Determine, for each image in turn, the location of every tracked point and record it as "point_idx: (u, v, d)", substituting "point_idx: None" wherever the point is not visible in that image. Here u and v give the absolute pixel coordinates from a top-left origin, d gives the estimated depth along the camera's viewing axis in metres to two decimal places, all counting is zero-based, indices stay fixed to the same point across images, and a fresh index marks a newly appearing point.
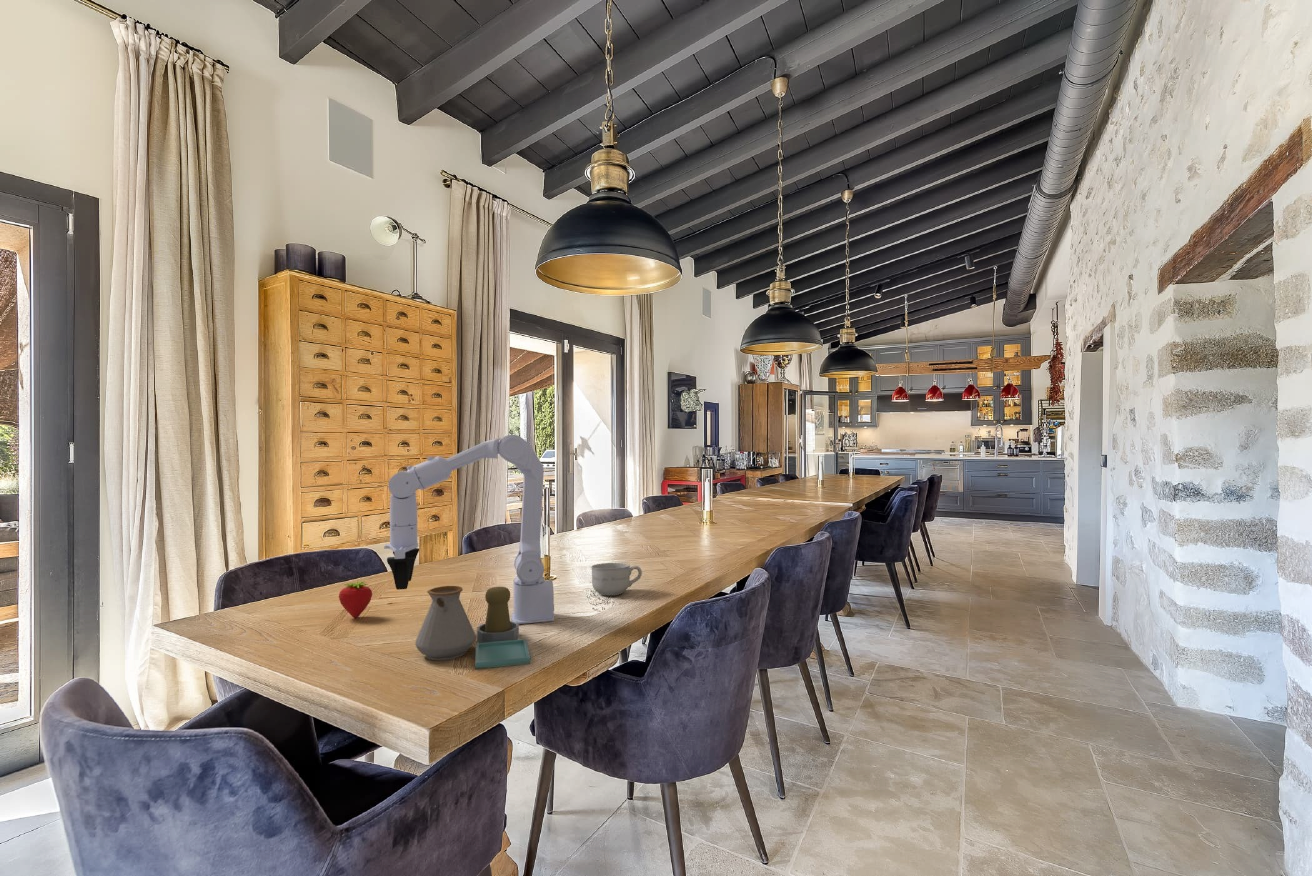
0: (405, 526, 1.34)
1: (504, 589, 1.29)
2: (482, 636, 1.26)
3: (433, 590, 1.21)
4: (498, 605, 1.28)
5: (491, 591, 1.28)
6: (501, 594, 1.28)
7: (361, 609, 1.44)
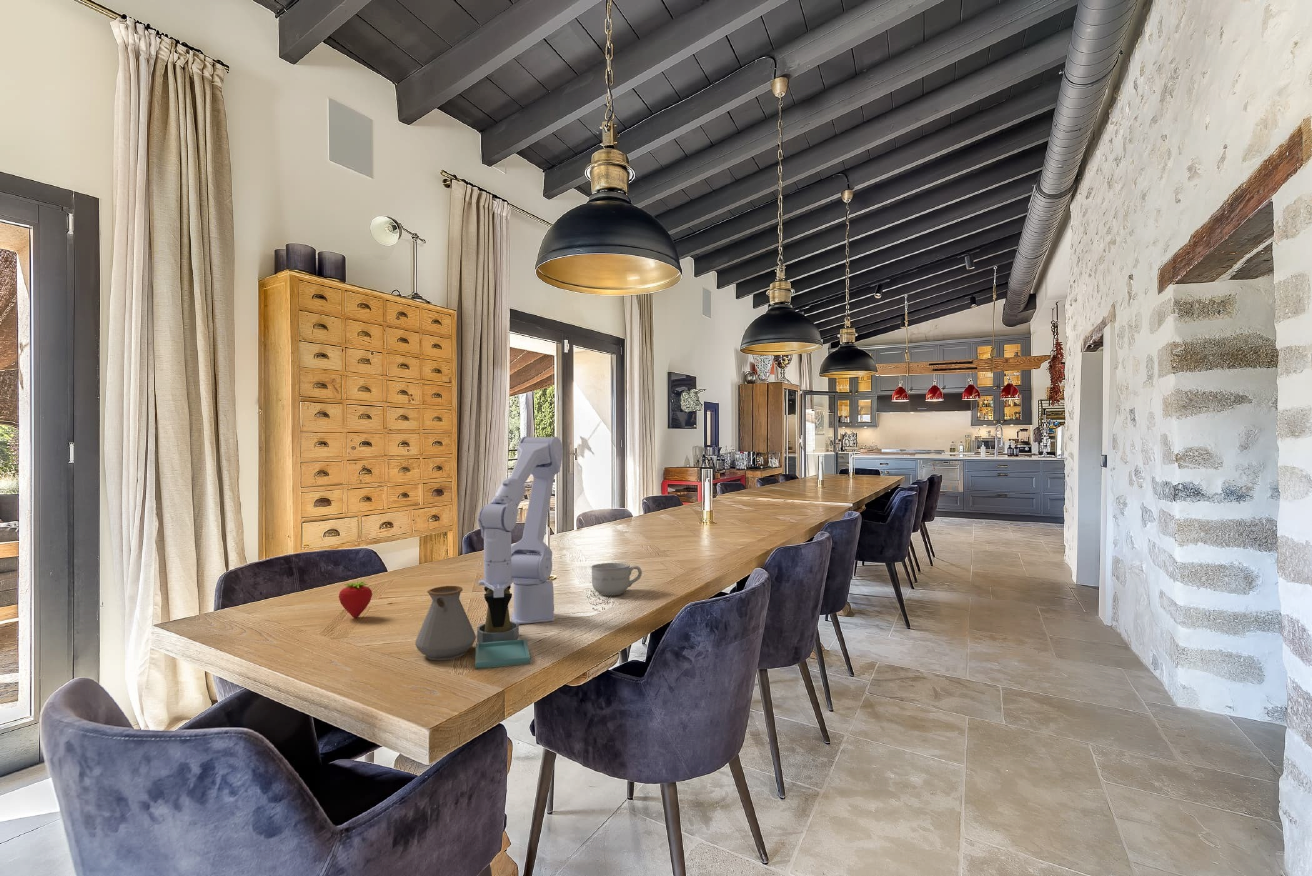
0: (501, 562, 1.27)
1: (504, 589, 1.29)
2: (482, 636, 1.26)
3: (433, 590, 1.21)
4: None
5: (491, 591, 1.28)
6: None
7: (361, 609, 1.44)
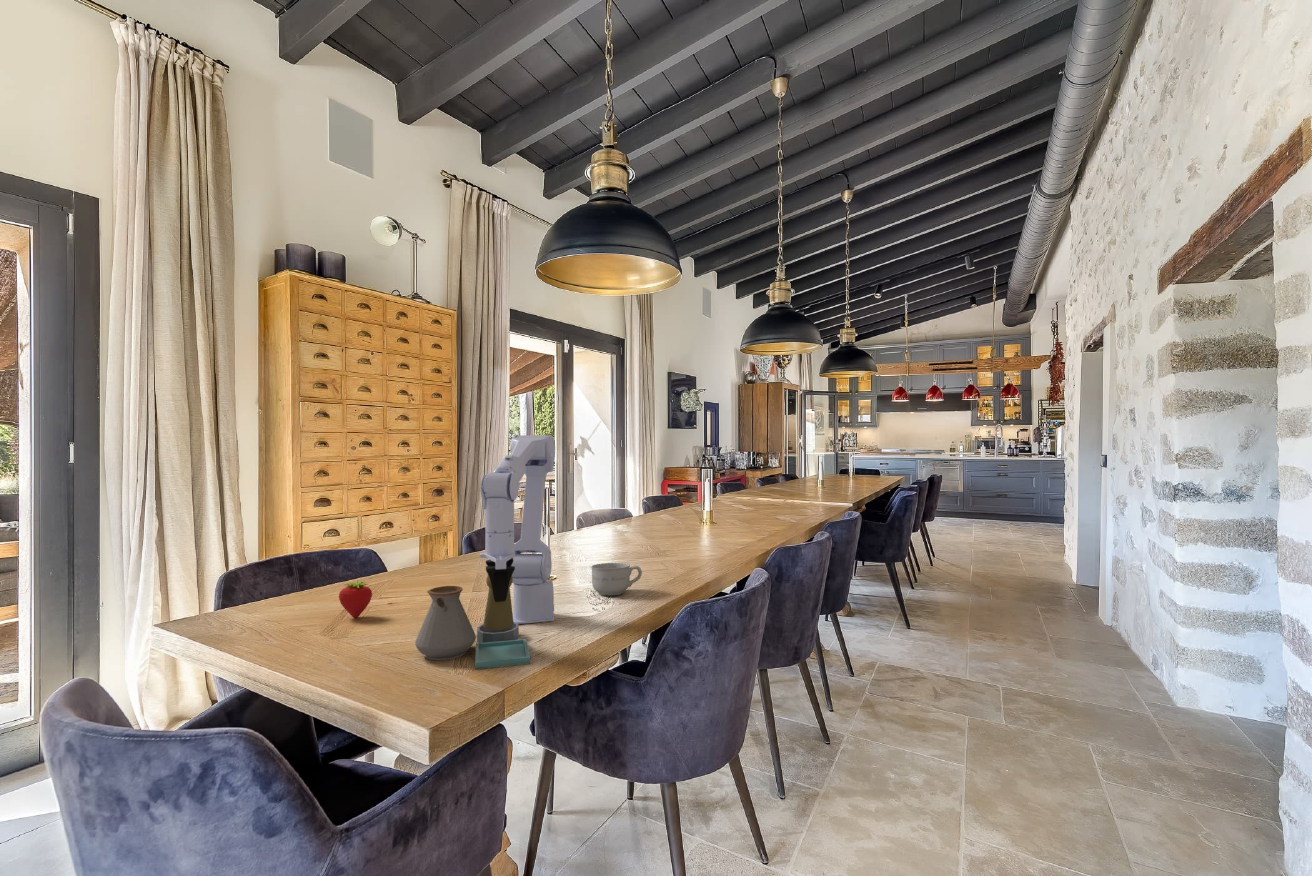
0: (503, 533, 1.21)
1: None
2: (482, 636, 1.26)
3: (433, 590, 1.21)
4: None
5: None
6: None
7: (361, 609, 1.44)
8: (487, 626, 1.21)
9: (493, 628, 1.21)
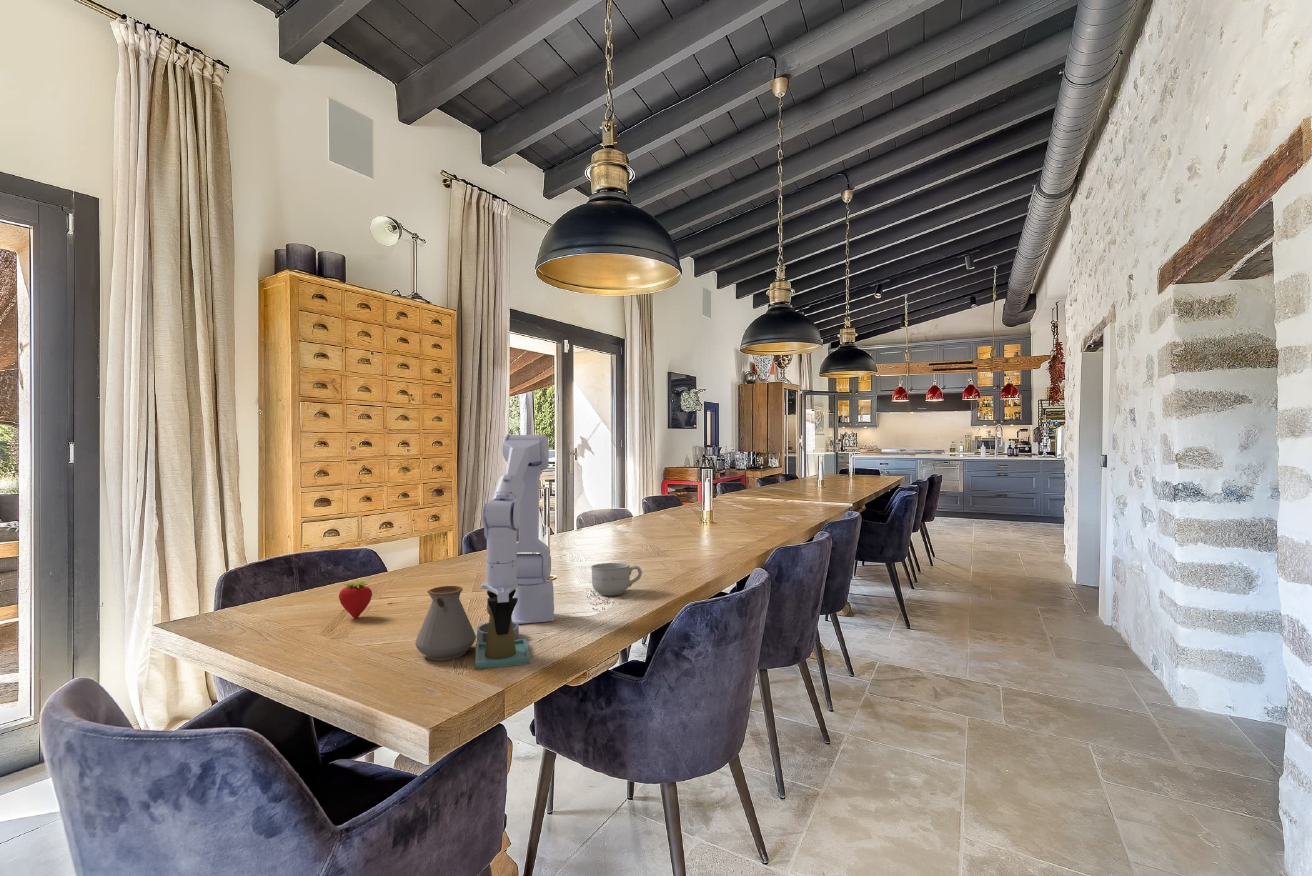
0: (505, 563, 1.17)
1: None
2: (482, 636, 1.26)
3: (433, 590, 1.21)
4: None
5: None
6: None
7: (361, 609, 1.44)
8: (489, 655, 1.17)
9: (495, 657, 1.16)
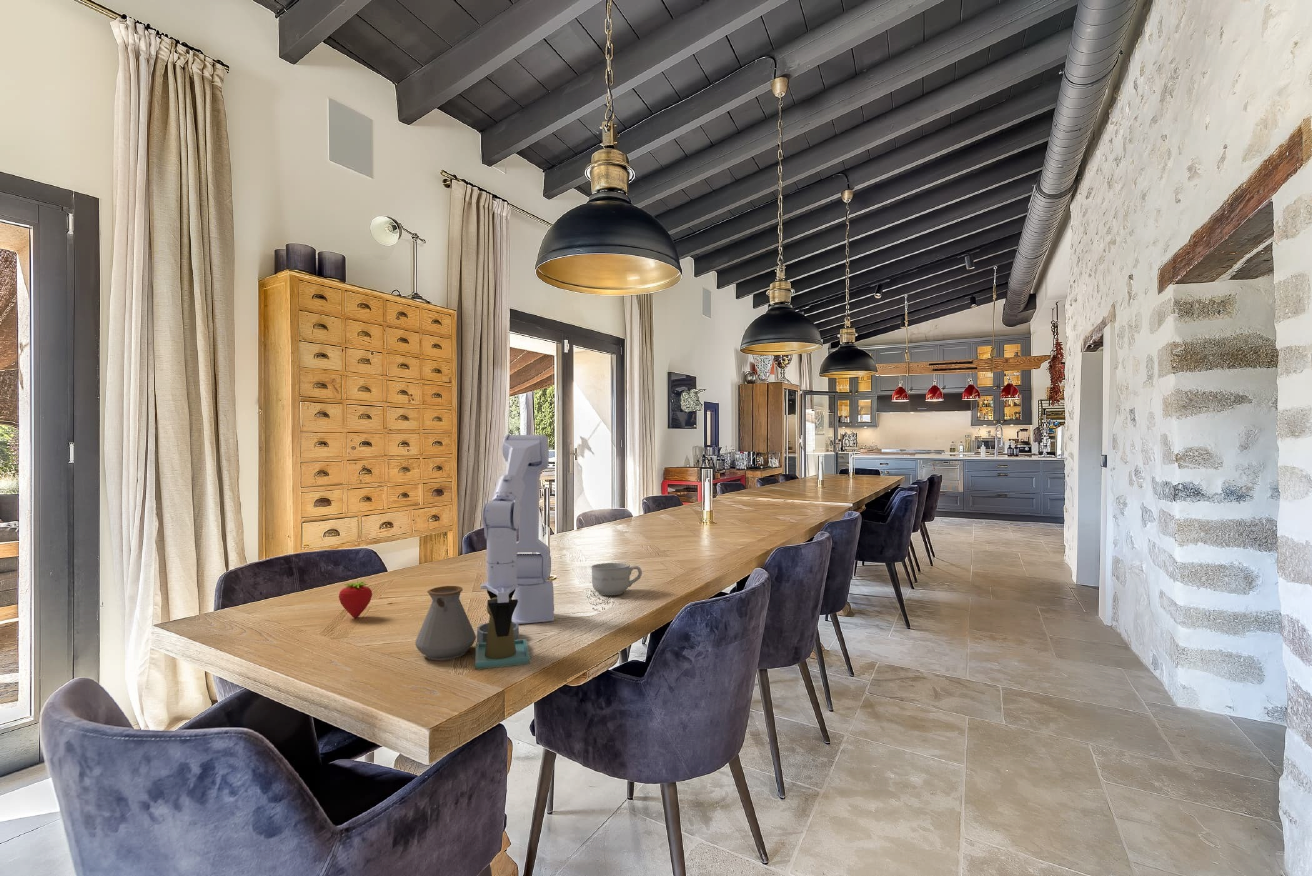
0: (505, 564, 1.17)
1: None
2: (482, 636, 1.26)
3: (433, 590, 1.21)
4: None
5: None
6: None
7: (361, 609, 1.44)
8: (489, 655, 1.17)
9: (495, 657, 1.16)
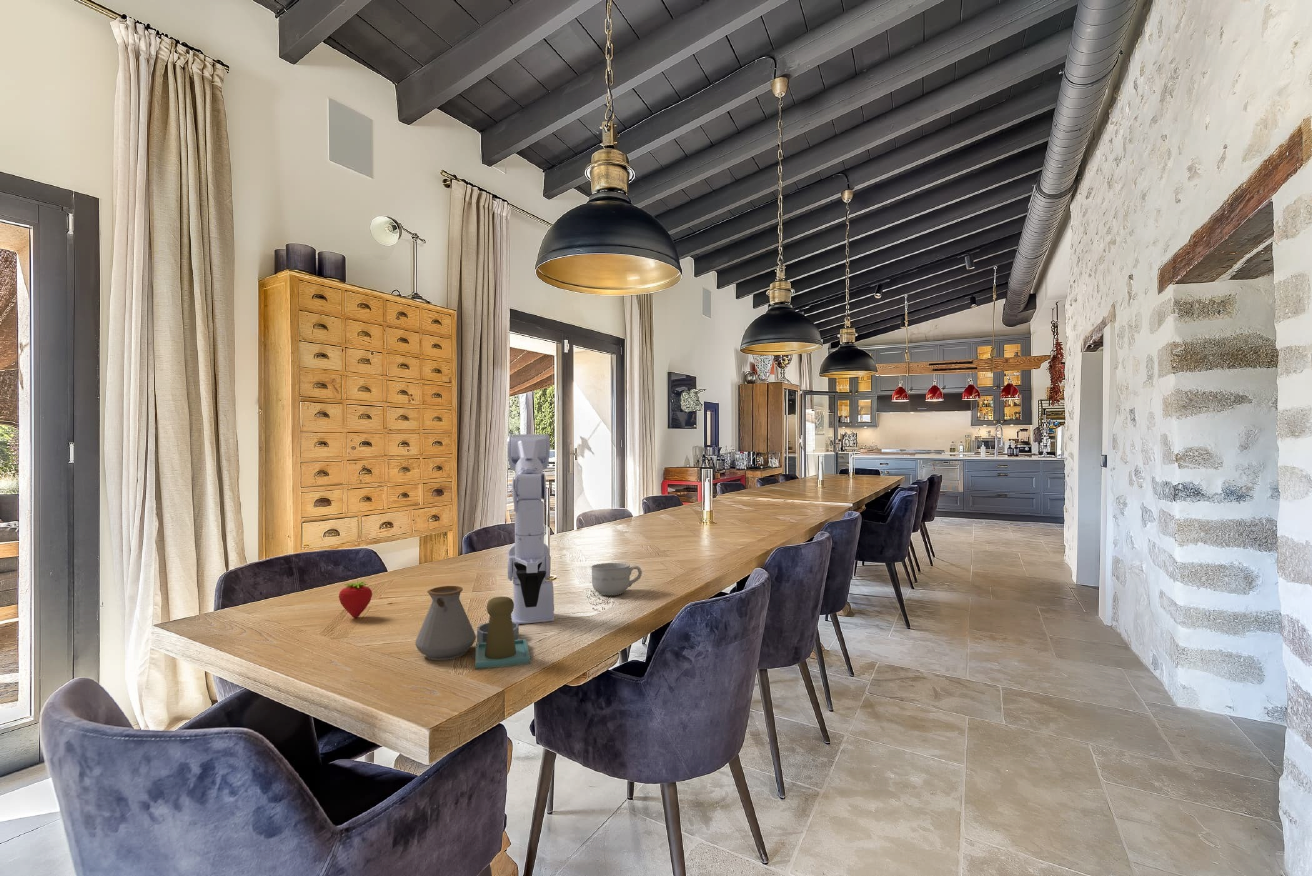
0: (533, 535, 1.18)
1: (507, 599, 1.19)
2: (482, 636, 1.26)
3: (433, 590, 1.21)
4: (501, 617, 1.17)
5: (493, 602, 1.17)
6: (504, 605, 1.17)
7: (361, 609, 1.44)
8: (489, 655, 1.17)
9: (495, 657, 1.16)
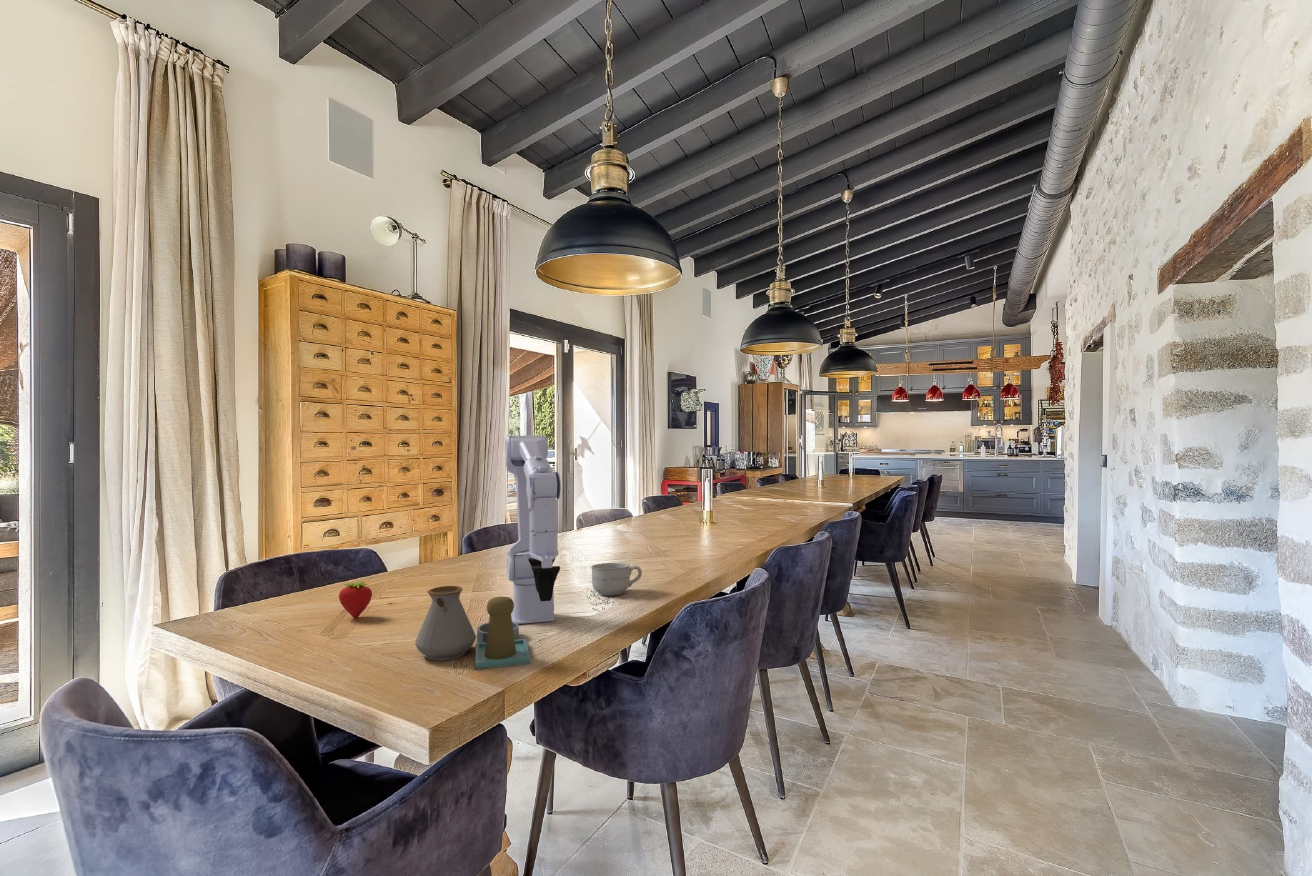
0: (548, 532, 1.23)
1: (507, 599, 1.19)
2: (482, 636, 1.26)
3: (433, 590, 1.21)
4: (501, 617, 1.17)
5: (493, 602, 1.17)
6: (504, 605, 1.17)
7: (361, 609, 1.44)
8: (489, 655, 1.17)
9: (495, 657, 1.16)
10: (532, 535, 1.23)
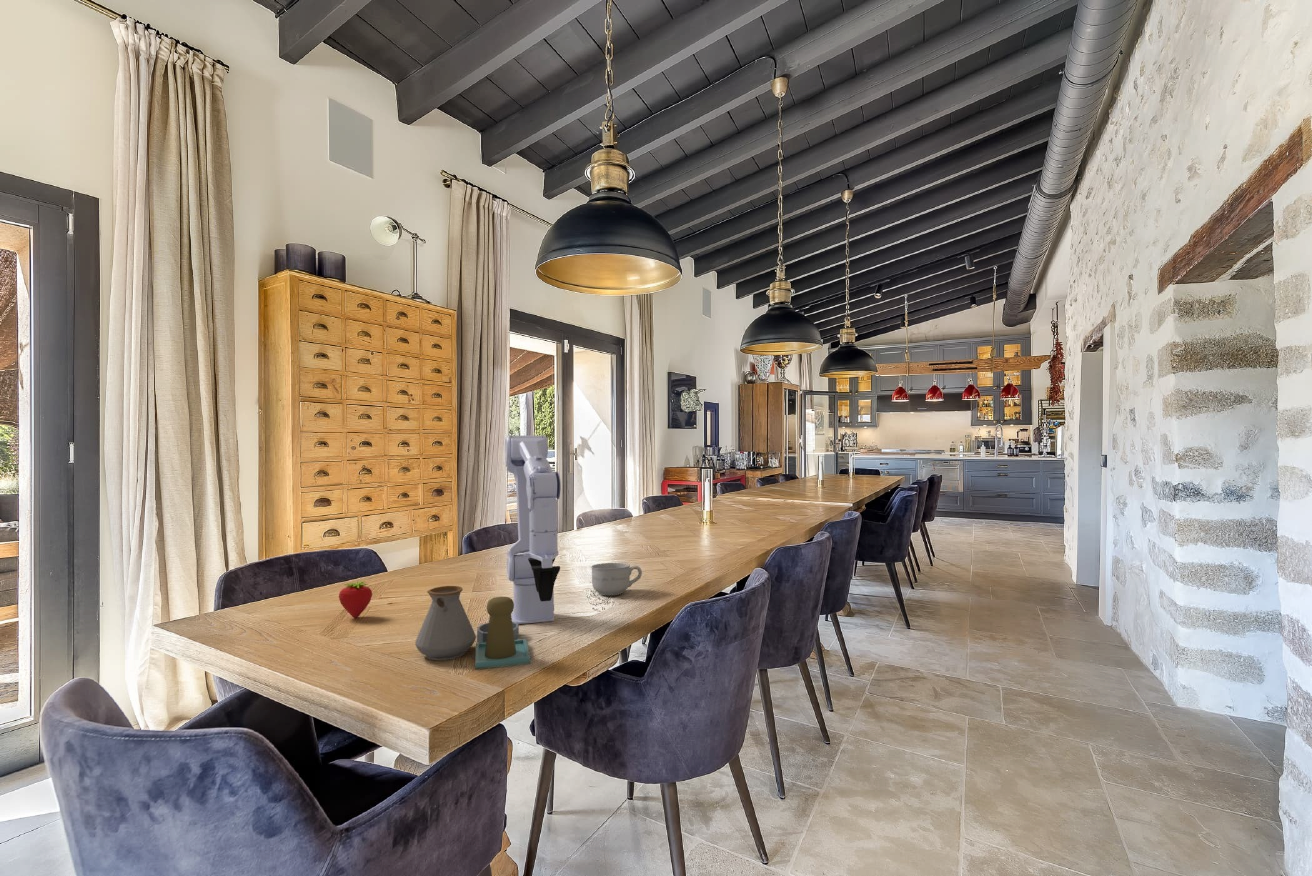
0: (548, 532, 1.23)
1: (507, 599, 1.19)
2: (482, 636, 1.26)
3: (433, 590, 1.21)
4: (501, 617, 1.17)
5: (493, 602, 1.17)
6: (504, 605, 1.17)
7: (361, 609, 1.44)
8: (489, 655, 1.17)
9: (495, 657, 1.16)
10: (532, 535, 1.23)
